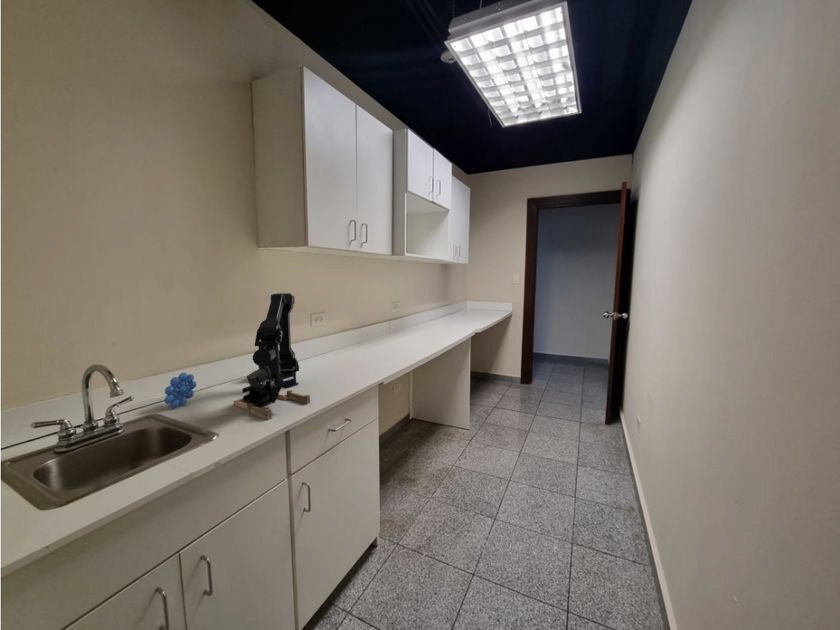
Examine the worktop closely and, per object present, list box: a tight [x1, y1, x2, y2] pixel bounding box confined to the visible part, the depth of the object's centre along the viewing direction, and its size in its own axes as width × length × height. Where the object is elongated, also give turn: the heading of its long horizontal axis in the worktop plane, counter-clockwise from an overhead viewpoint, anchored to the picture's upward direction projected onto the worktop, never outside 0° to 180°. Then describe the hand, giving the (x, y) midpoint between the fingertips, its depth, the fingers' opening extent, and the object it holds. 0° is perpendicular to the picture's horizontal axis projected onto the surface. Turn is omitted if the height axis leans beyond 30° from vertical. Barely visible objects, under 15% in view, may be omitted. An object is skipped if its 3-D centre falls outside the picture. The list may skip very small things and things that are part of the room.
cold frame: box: [246, 389, 311, 421], centre depth 124 cm, size 17×11×3 cm, turn 148°
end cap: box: [242, 384, 272, 407], centre depth 129 cm, size 10×7×7 cm
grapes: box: [164, 372, 197, 409], centre depth 126 cm, size 12×7×12 cm, turn 161°
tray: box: [233, 392, 288, 410], centre depth 129 cm, size 14×12×2 cm
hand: (273, 402), depth 125 cm, fingers closed
